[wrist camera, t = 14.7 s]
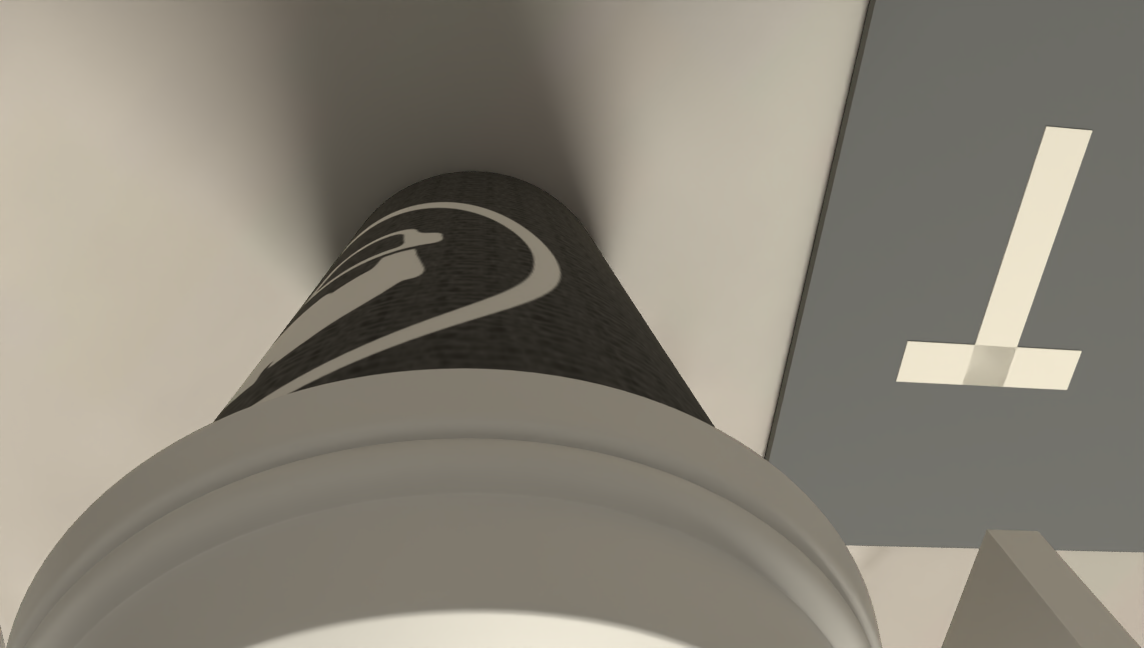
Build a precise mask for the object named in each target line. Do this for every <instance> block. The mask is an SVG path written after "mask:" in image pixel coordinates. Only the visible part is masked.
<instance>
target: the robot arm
mask: <svg viewBox="0 0 1144 648" xmlns="http://www.w3.org/2000/svg"><path fill="white" fill-rule="evenodd" d="M0 648H5V644H4V639H3V635H2V631H1V627H0ZM942 648H1141V647H1140V646H1139V645H1138V644H1137V642H1136V641H1135V640H1134V639H1133V638H1132V637H1131V636H1130V635H1129V633H1128V632H1127V631H1126V630H1125V629H1124V628H1123V627H1122V626H1121V624H1120V623H1119V622H1118V621H1117V620H1116V619H1115V618H1114V616H1113V615H1112V614H1111V613H1110V612H1109V611H1108V610H1107V609H1106V607H1105V606H1104V605H1103V604H1102V603H1101V602H1100V601H1099V600H1098V598H1097V597H1096V596H1095V595H1094V594H1093V593H1092V592H1091V591H1090V589H1089V588H1088V587H1087V586H1086V585H1085V584H1084V583H1083V581H1082V580H1081V579H1080V578H1079V577H1078V576H1077V575H1076V574H1075V572H1074V571H1073V570H1072V569H1071V568H1070V567H1069V566H1068V565H1067V563H1066V562H1065V561H1064V560H1063V559H1062V558H1061V557H1060V555H1059V554H1058V553H1057V552H1056V551H1055V550H1054V549H1053V548H1052V546H1051V545H1050V544H1049V543H1048V542H1047V541H1046V540H1045V539H1044V537H1043V536H1042V535H1041V534H1040V533H1039V532H1038V531H1020V530H989V529H987V530H986V533H985V535H984V538H983V541H982V543H981V546H980V548H979V551H978V554H977V556H976V559H975V561H974V564H973V567H972V569H971V572H970V575H969V577H968V580H967V582H966V585H965V588H964V590H963V593H962V595H961V598H960V601H959V603H958V606H957V608H956V611H955V614H954V616H953V619H952V621H951V624H950V627H949V629H948V632H947V635H946V637H945V640H944V642H943V645H942Z"/></svg>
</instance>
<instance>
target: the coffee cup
mask: <svg viewBox="0 0 1144 648" xmlns="http://www.w3.org/2000/svg"><path fill="white" fill-rule="evenodd" d="M6 648H882V643H881V639H880V634H879V629H878V625H877V620H876V616H875V612H874V609H873V605H872V602H871V599H870V596H869V593H868V590H867V587H866V585H865V582H864V580H863V578H862V575H861V573H860V571H859V569H858V567H857V565H856V563H855V561H854V559H853V557H852V555H851V554H850V552H849V550H848V548H847V547H846V545H845V543H844V542H843V540H842V539H841V537H840V536H839V534H838V533H837V531H836V530H835V529H834V527H833V526H832V525H831V523H830V522H829V520H828V519H827V518H826V517H825V516H824V514H823V513H822V512H821V511H820V510H819V508H818V507H817V506H816V505H815V504H814V503H813V502H812V501H811V500H810V498H809V497H808V496H807V495H806V494H805V493H804V492H803V491H802V490H801V489H800V488H799V487H798V486H797V485H796V484H795V483H793V482H792V481H791V480H790V479H789V478H788V477H787V476H785V475H784V474H783V473H782V472H781V471H780V470H778V469H777V468H776V467H775V466H773V465H772V464H771V463H769V462H768V461H767V460H766V459H764V458H763V457H761V456H760V455H759V454H757V453H756V452H754V451H753V450H752V449H750V448H748V447H747V446H745V445H744V444H742V443H741V442H739V441H737V440H736V439H734V438H732V437H731V436H729V435H727V434H726V433H724V432H722V431H720V430H719V429H717V428H715V427H714V425H713V424H712V422H711V421H710V419H709V418H708V416H707V415H706V413H705V412H704V410H703V409H702V407H701V406H700V404H699V403H698V401H697V400H696V398H695V397H694V395H693V394H692V392H691V391H690V389H689V387H688V386H687V384H686V383H685V381H684V380H683V378H682V377H681V375H680V374H679V372H678V371H677V369H676V368H675V366H674V365H673V363H672V362H671V360H670V359H669V357H668V356H667V354H666V352H665V351H664V349H663V348H662V346H661V345H660V343H659V342H658V340H657V339H656V337H655V336H654V334H653V333H652V331H651V330H650V328H649V326H648V325H647V323H646V322H645V320H644V319H643V317H642V316H641V314H640V313H639V311H638V310H637V308H636V307H635V305H634V303H633V302H632V300H631V299H630V297H629V296H628V294H627V293H626V291H625V290H624V288H623V287H622V285H621V284H620V282H619V280H618V279H617V277H616V276H615V274H614V273H613V271H612V270H611V268H610V267H609V265H608V263H607V262H606V260H605V259H604V257H603V256H602V254H601V253H600V251H599V250H598V248H597V246H596V245H595V243H594V242H593V240H592V239H591V237H590V236H589V234H588V233H587V231H586V230H585V228H584V227H583V226H582V224H581V223H580V222H579V221H578V219H577V218H576V217H575V216H574V215H573V214H572V213H571V212H570V211H569V210H568V209H567V208H566V207H565V206H564V205H563V204H562V203H560V202H559V201H558V200H557V199H555V198H554V197H552V196H551V195H549V194H548V193H546V192H545V191H543V190H541V189H539V188H538V187H536V186H534V185H531V184H529V183H527V182H524V181H522V180H519V179H516V178H513V177H509V176H505V175H501V174H495V173H488V172H457V173H449V174H444V175H439V176H435V177H432V178H429V179H426V180H423V181H420V182H418V183H416V184H413V185H411V186H409V187H407V188H405V189H404V190H402V191H400V192H398V193H397V194H395V195H394V196H392V197H391V198H390V199H388V200H387V201H386V202H385V203H383V204H382V205H381V206H380V207H379V208H378V209H377V210H376V211H375V212H374V213H373V214H372V215H371V216H370V217H369V218H368V220H367V221H366V222H365V223H364V225H363V226H362V227H361V228H360V230H359V231H358V232H357V234H356V235H355V236H354V238H353V239H352V240H351V242H350V243H349V244H348V246H347V247H346V248H345V250H344V251H343V252H342V254H341V255H340V256H339V258H338V259H337V260H336V262H335V263H334V264H333V266H332V267H331V268H330V270H329V271H328V272H327V274H326V275H325V276H324V278H323V279H322V280H321V282H320V283H319V284H318V286H317V287H316V288H315V290H314V291H313V292H312V294H311V295H310V296H309V297H308V299H307V300H306V301H305V303H304V304H303V305H302V307H301V308H300V309H299V311H298V312H297V313H296V315H295V316H294V317H293V319H292V320H291V321H290V323H289V324H288V325H287V327H286V328H285V329H284V331H283V332H282V333H281V334H280V336H279V337H278V338H277V340H276V341H275V342H274V344H273V345H272V346H271V348H270V349H269V350H268V352H267V353H266V354H265V356H264V357H263V358H262V359H261V361H260V362H259V363H258V365H257V366H256V367H255V369H254V370H253V371H252V373H251V374H250V375H249V377H248V378H247V379H246V380H245V382H244V383H243V384H242V386H241V387H240V388H239V390H238V391H237V392H236V394H235V395H234V396H233V397H232V399H231V400H230V401H229V403H228V404H227V405H226V406H225V408H224V409H223V410H222V412H221V413H220V414H219V416H218V417H217V418H216V419H215V421H214V422H213V423H211V424H209V425H207V426H205V427H203V428H201V429H199V430H197V431H195V432H193V433H191V434H189V435H187V436H186V437H184V438H182V439H180V440H178V441H176V442H175V443H173V444H171V445H170V446H168V447H166V448H165V449H163V450H161V451H160V452H158V453H157V454H155V455H154V456H152V457H151V458H149V459H148V460H146V461H145V462H143V463H142V464H140V465H139V466H138V467H136V468H135V469H133V470H132V471H131V472H129V473H128V474H127V475H125V476H124V477H123V478H122V479H120V480H119V481H118V482H117V483H115V484H114V485H113V486H112V487H111V488H109V489H108V490H107V491H106V492H105V493H104V494H103V495H101V496H100V497H99V498H98V499H97V500H96V501H95V502H94V503H93V504H92V505H91V506H90V507H89V508H88V509H87V510H86V511H85V512H84V513H83V514H82V515H81V516H80V517H79V518H78V519H77V520H76V521H75V522H74V524H73V525H72V526H71V527H70V528H69V529H68V530H67V532H66V533H65V534H64V535H63V536H62V538H61V539H60V540H59V541H58V543H57V544H56V545H55V547H54V548H53V550H52V551H51V552H50V554H49V555H48V557H47V558H46V559H45V561H44V563H43V564H42V566H41V567H40V569H39V570H38V572H37V574H36V575H35V577H34V579H33V581H32V583H31V585H30V586H29V588H28V590H27V592H26V594H25V597H24V599H23V601H22V603H21V605H20V608H19V610H18V613H17V615H16V618H15V620H14V623H13V626H12V629H11V632H10V635H9V639H8V643H7V647H6Z"/></svg>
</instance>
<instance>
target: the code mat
mask: <svg viewBox="0 0 1144 648" xmlns="http://www.w3.org/2000/svg"><path fill="white" fill-rule="evenodd" d="M765 459H766V460H767V461H768V462H769V463H771V464H772V465H773V466H775V467H776V468H777V469H778V470H780V471H781V472H782V473H783V474H784V475H785V476H787V477H788V478H789V479H790V480H791V481H792V482H793V483H795V484H796V485H797V486H798V487H799V488H800V489H801V490H802V491H803V492H804V493H805V494H806V495H807V496H808V497H809V498H810V500H811V501H812V502H813V503H814V504H815V505H816V506H817V507H818V508H819V510H820V511H821V512H822V513H823V514H824V516H825V517H826V518H827V519H828V520H829V522H830V523H831V525H832V526H833V527H834V529H835V530H836V531H837V533H838V534H839V536H840V537H841V539H842V540H843V542H844V543H845V545H857V546H899V547H941V548H980V546H981V543H982V541H983V538H984V535H985V533H986V530H987V529H989V530H1020V531H1038V532H1039V533H1040V534H1041V535H1042V536H1043V537H1044V539H1045V540H1046V541H1047V542H1048V543H1049V544H1050V545H1051V546H1052V548H1053V549H1054V550H1067V551H1108V552H1144V0H870V3H869V7H868V12H867V16H866V21H865V25H864V29H863V34H862V38H861V42H860V47H859V51H858V55H857V60H856V64H855V68H854V73H853V77H852V81H851V86H850V90H849V95H848V99H847V103H846V108H845V112H844V116H843V121H842V125H841V129H840V134H839V138H838V142H837V147H836V151H835V156H834V160H833V164H832V169H831V173H830V177H829V182H828V186H827V190H826V195H825V199H824V203H823V208H822V212H821V217H820V221H819V225H818V230H817V234H816V238H815V243H814V247H813V251H812V256H811V260H810V264H809V269H808V273H807V277H806V282H805V286H804V291H803V295H802V299H801V304H800V308H799V312H798V317H797V321H796V325H795V330H794V334H793V338H792V343H791V347H790V352H789V356H788V360H787V365H786V369H785V373H784V378H783V382H782V386H781V391H780V395H779V399H778V404H777V408H776V413H775V417H774V421H773V426H772V430H771V434H770V439H769V443H768V447H767V452H766V456H765Z"/></svg>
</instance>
